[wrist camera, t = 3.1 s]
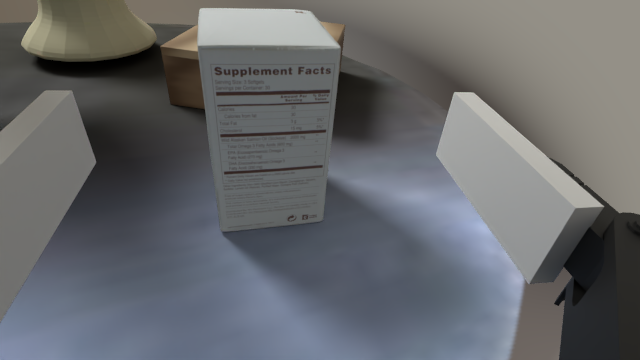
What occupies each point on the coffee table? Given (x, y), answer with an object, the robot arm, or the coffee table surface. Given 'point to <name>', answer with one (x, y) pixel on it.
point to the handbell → (86, 31)
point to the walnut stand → (186, 67)
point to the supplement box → (268, 113)
